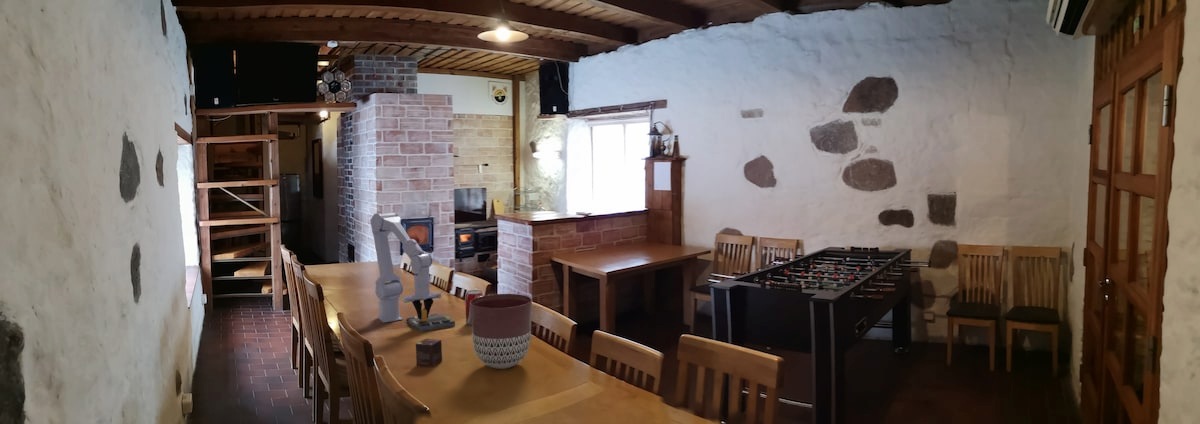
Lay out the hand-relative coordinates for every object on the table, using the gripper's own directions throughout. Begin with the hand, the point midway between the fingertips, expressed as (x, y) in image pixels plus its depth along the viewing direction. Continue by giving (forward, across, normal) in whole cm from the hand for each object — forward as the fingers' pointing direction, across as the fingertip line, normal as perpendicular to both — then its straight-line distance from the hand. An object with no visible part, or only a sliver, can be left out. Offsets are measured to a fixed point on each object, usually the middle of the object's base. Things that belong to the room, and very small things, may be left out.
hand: (423, 318), depth 249 cm
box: (+4, -13, -44) cm, 46 cm away
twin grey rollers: (+3, +3, +10) cm, 11 cm away
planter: (+3, +6, -60) cm, 60 cm away
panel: (+3, +3, 0) cm, 5 cm away
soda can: (+3, +18, -8) cm, 20 cm away
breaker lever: (+1, 0, 0) cm, 1 cm away
